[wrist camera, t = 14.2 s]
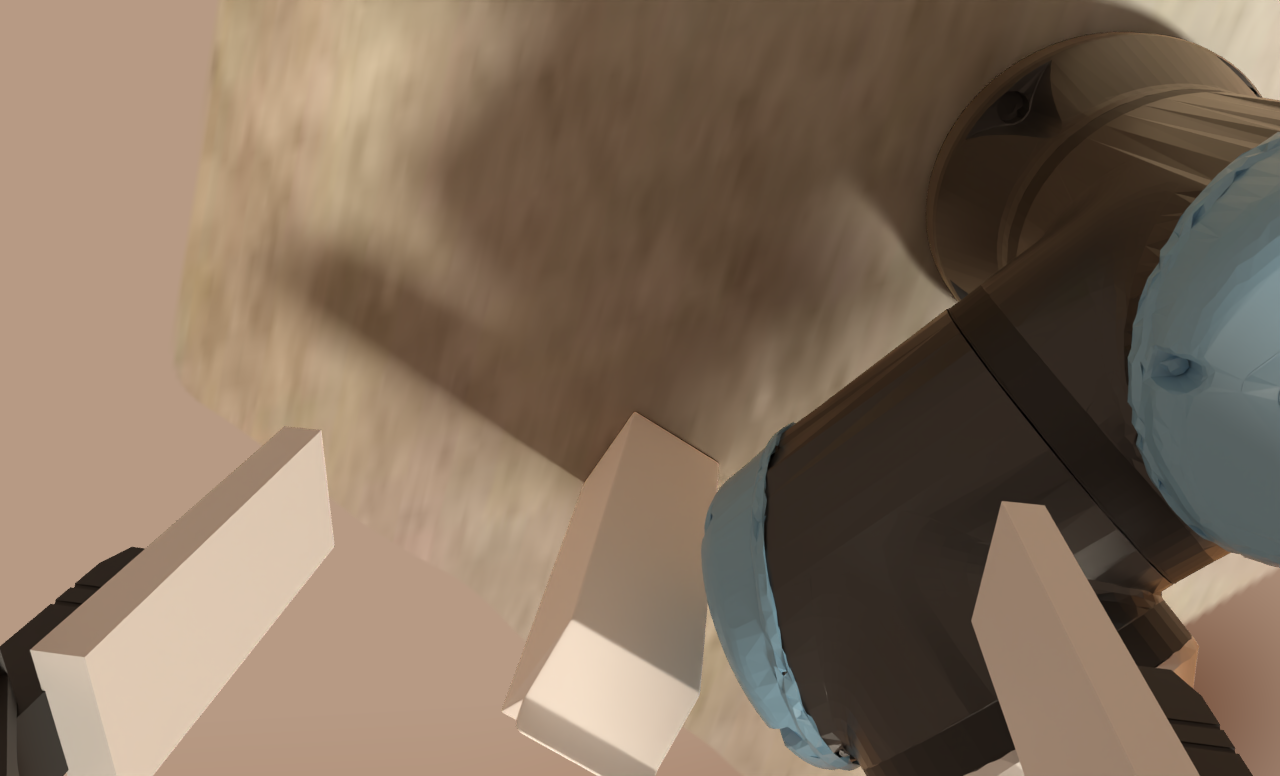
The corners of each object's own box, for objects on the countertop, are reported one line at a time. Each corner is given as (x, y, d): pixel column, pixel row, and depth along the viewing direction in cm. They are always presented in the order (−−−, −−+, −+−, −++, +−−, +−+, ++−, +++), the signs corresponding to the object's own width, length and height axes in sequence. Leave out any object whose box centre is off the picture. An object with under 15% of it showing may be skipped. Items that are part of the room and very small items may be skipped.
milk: (634, 409, 50) (552, 672, 30) (721, 463, 51) (698, 755, 31) (582, 484, 53) (474, 773, 32) (666, 534, 53) (611, 849, 33)
